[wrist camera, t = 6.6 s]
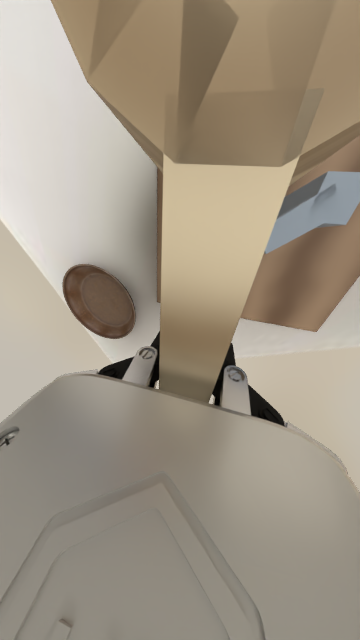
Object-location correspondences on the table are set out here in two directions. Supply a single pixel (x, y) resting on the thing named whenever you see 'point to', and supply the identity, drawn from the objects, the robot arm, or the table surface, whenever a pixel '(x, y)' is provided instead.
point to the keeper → (316, 207)
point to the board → (300, 261)
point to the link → (220, 138)
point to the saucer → (99, 301)
